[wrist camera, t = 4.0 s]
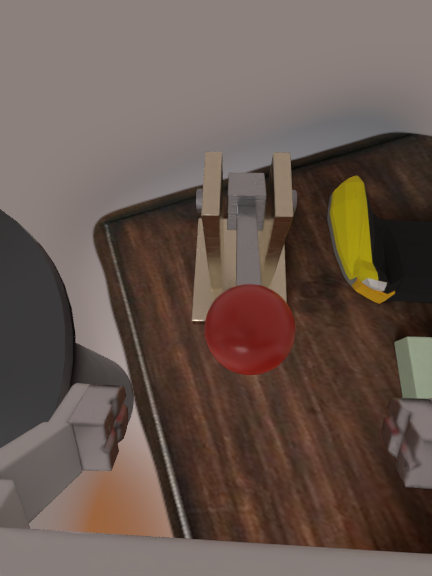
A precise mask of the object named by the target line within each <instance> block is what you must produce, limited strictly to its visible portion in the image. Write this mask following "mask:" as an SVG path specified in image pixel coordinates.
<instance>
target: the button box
mask: <svg viewBox="0 0 432 576" xmlns="http://www.w3.org/2000/svg"><path fill="white" fill-rule="evenodd" d="M394 344H395V350H396V357H397V364H398V370H399V377H400V384H401V390H402V397H403V398H425V399H427V398H432V337H408V336H407V337H405V338H403V339H401V340H398V341H396V342H395V343H394Z"/></svg>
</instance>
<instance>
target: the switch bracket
mask: <svg viewBox="0 0 432 576" xmlns="http://www.w3.org/2000/svg"><path fill="white" fill-rule="evenodd" d="M222 176H223V173H222V153H221V152H206V153H205V165H204V181H203V189H197V192H196V209H197V212H201V216H202V218H199V219H198V234H197V249H196V264H195V278H194V293H193V308H192V322H193V324H205V320H206V316H207V313H208V310H209V308H210V307H211V305H212V303H213V302H214V301H215V299H216V298H217V297H218V296H219V295H221V294H222V293H223V292H224V291H226V290H228V289H230V288H232V287H234V286H236V230H227V219H223V177H222ZM266 193H267V198H266V208H265V218H264V228H263V231H258V242H259V256H260V270H261V285H262V286H264V287H267V288H269V289H271V290H273V291H274V292H276V293H277V294H279V295H280V296H281V297H282V298H283V299H284V300H285V302H286V303H287V295H286V268H285V240H286V237H287V234H288V231H289V228H290V225H291V222H292V219H293V214H294V213H295V211H296V206H297V192H296V190H292V178H291V158H290V153H279V152H275V153H273V158H272V164H271V169H270V175H269V181H268V187H267V192H266Z"/></svg>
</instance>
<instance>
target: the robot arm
mask: <svg viewBox="0 0 432 576" xmlns="http://www.w3.org/2000/svg"><path fill="white" fill-rule="evenodd" d="M125 397H126V393H125V388H124V387H123V386H115V385H100V384H80V383H76V384H74V385H73V386H72V387H71V388H70V390H69V391H68V393H67V394H66V396H65V397H64V399H63V400H62V402H61V403H60V405H59V406H58V408H57V409H56V411H55V412H54V414H53V415H52V417H51V418H50V420H49V421H48V422H42V423H41V424H39V425H38V426H36V427H34V428H33V429H31V430H29V431H28V432H26V433H24V434H23V435H21V436H20V437H18V438H16V439H15V440H13V441H11V442H10V443H8V444H7V445H5V446H3V447H2V448H0V576H432V554H422V553H406V552H389V551H373V550H357V549H340V548H324V547H308V546H293V545H277V544H261V543H246V542H230V541H214V540H199V539H183V538H167V537H166V538H165V537H151V536H134V535H118V534H102V533H87V532H71V531H54V530H39V529H30V526H29V523H30V522H31V521H32V520H33V519H34V518H35V517H36V516H37V515H38V514H39V513H40V512H41V511H42V510H43V509H44V508H45V507H46V506H47V505H48V504H50V502H52V501H53V500H54V499H55V498H56V497H57V496H58V495H59V494H60V493H61V492H62V491H63V490H64V489H65V488H66V487H67V486H68V485H69V484H70V483H71V482H72V481H73V480H74V479H75V478H77V477H78V476H79V475H80V474H81V473H82V470H90V471H92V470H93V471H111V470H112V468H113V465H114V462H115V460H116V457H117V455H118V452H119V449H118V443H119V442H120V441H121V440H122V439H123V438H124V436H125V433H126V429H127V424H128V407H127V406H126V405H125V404H124V403H123V402H124V400H125ZM387 408H388V410H389V411H390V413H391V414H389V415H388V416H387V417H386V418H384V422H383V426H382V433H383V440H384V443H385V446H386V448H387V450H388V452H389V453H390V454H392V455H393V456H394V457H395V458H397V460H396V463H395V467H396V469H397V471H398V473H399V475H400V477H401V479H402V481H403V483H404V485H405V487H413V488H425V489H432V398H427V399H425V398H398V397H392V398H391V399H390V401H389V403H388V407H387Z"/></svg>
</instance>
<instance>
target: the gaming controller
mask: <svg viewBox="0 0 432 576" xmlns="http://www.w3.org/2000/svg"><path fill="white" fill-rule="evenodd" d="M327 220H328V225H329V230H330V235H331V240H332V245H333V250H334V254H335V256H336V259H337V261H338V264H339V266H340V269H341V271H342V274H343V276H344V278H345V279H346V281H347V283H349V284H350V285H351V287H352V288H353V289H354V290H355V291H357V292H358V293H360V294H362V295H363V296H365V297H367V298H368V299H370V300H372V301H374V302H376V303H379V304H380V303H382V302H383V301H385V300H391V301H406V302H421V303H432V222H417V221H397V220H384V219H381V218H378V217H377V216H376V215H374V214H373V213H372V209H371V206H370V202H369V199H368V195H367V192H366V188H365V185H364V183H363V181H362V180H361V179H360V178H359V176H353V177H350V178H348V179H347V180H346V181H344V182H343V183H342V184H341V185H340V186H339V187H338V188H337V189H336V190H335V191H334V192H333V193H332V194H331V196H330V199H329V206H328V213H327Z"/></svg>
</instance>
